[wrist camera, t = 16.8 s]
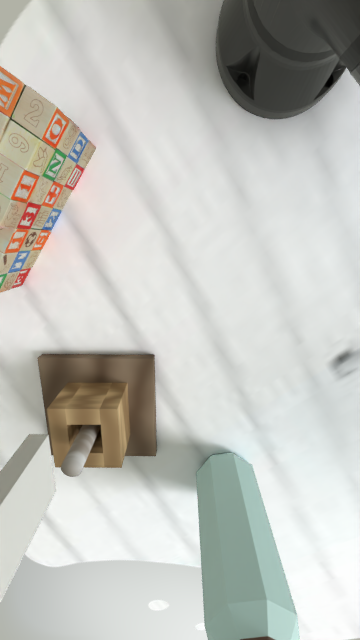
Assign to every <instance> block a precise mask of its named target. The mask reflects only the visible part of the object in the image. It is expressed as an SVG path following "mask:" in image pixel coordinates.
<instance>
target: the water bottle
mask: <svg viewBox="0 0 360 640" xmlns="http://www.w3.org/2000/svg"><path fill="white" fill-rule="evenodd" d="M196 477H197V495H198V513H199V531H200V549H201V567H202V582H203V583H202V585H203V601H204V621H205V629H206V633H207V637H208V640H300V636H299V627H298V619H297V613H296V610H295V606H294V603H293V600H292V596H291V593H290V590H289V586H288V583H287V580H286V576H285V573H284V570H283V567H282V563H281V560H280V557H279V553H278V550H277V547H276V543H275V540H274V537H273V533H272V530H271V527H270V523H269V520H268V517H267V513H266V510H265V507H264V503H263V500H262V497H261V493H260V490H259V487H258V483H257V480H256V477H255V473H254V470H253V467H252V465H251V464H250V463H248V462H247V461H245V460H243V459H242V458H240V457H238V456H237V455H235V454H233V453H231V452H229V453H223V454H216V455H211V456H210V457H209V459H208V460H207V461H206V462H205V463H204V464H203V466H202V467H201V468H200V469H199V470H198V471H197V472H196Z"/></svg>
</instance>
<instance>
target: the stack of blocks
mask: <svg viewBox="0 0 360 640" xmlns="http://www.w3.org/2000/svg"><path fill="white" fill-rule="evenodd" d="M95 149H96V147H95V146H94V145H93V144H92V143H91V142H90V141H89V140H88V139H87V138H86V137H85V135H84V134H83V133H82V132H81V131H80V129H79V128H78V127H77V126H76V125H75V124H74V122H73V121H72V120H71V119H69V118H68V117H66V116H65V115H64V114H63V113H62V112H61V111H60V110H59V109H58V108H57V107H56V106H55V105H53V104H52V103H51V102H49V101H48V100H47V99H45V98H44V97H42V96H41V95H40V94H38V93H37V92H36V91H34V90H33V89H32V88H30V87H29V86H26V85H25V84H24V83H23V82H21V81H20V80H19V79H17V78H16V77H15V76H13V75H12V74H11V73H9V72H8V71H6V70H5V69H4V68H2V67H1V66H0V292H3V291H7V290H10V289H12V288H15V287H19V286H22V285H23V283H24V281H25V279H26V277H27V275H28V273H29V271H30V269H31V267H33V265H34V263H35V261H36V259H37V257H38V255H39V254H40V252H41V249H42V248H43V246H44V244H45V242H46V241H47V239H48V237H49V235H50V233H51V230H52V228H53V226H54V224H55V222H56V221H57V219H58V217H59V215H60V213H61V210H62V209H63V207H64V205H65V203H66V202H67V200H68V198H69V196H70V194H71V192H72V190H74V188H75V186H76V184H77V182H78V180H79V179H80V177H81V175H82V173H83V171H84V169H85V168H86V166H87V164H88V162H89V160H90V159H91V157H92V155H93V153H94V151H95Z"/></svg>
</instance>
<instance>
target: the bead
mask: <svg viewBox="0 0 360 640" xmlns="http://www.w3.org/2000/svg"><path fill="white" fill-rule="evenodd" d="M47 413H48V420H49V427H50V434H51V441H52V448H53V455H54V462H55V467H61V465H62V463H63V461H64V459H65V457H66V455H67V453H68V451H69V450H70V448H71V446H72V444H73V442H74V440H75V438H76V436H77V434H78V433H79V431H80V429H81V427H82V425H101V427H100V430H99V432H98V434H97V437H96V439H95V441H94V443H93V446H92V448H91V450H90V453H89V455H88V457H87V460H86V462H85V464H84V467H107V468H121V467H122V463H123V460H124V456H125V452H126V448H127V445H128V441H129V437H130V421H129V403H128V386H127V383H67V384H66V385H65V387H64V388H63V389H62V390H61V392H60V393H59V394H58V395H57V397H56V398H55V399H54V401H53V402H52V403H51V404H50V406H49V407H48V408H47Z"/></svg>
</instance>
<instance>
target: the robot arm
mask: <svg viewBox="0 0 360 640" xmlns="http://www.w3.org/2000/svg"><path fill="white" fill-rule="evenodd" d="M216 57H217V63H218V68H219V72H220V75H221V78H222V80H223V83H224V85H225V87H226V88H227V90H228V92H229V93H230V95H231V96H232V97H233V99H234V100H235V101H236V102H237V103H238V104H239V105H240V106H242V107H243V108H244V109H245V110H247V111H249V112H250V113H252V114H255V115H257V116H260V117H263V118H269V119H283V118H289V117H292V116H295V115H298V114H300V113H302V112H304V111H306V110H308V109H309V108H311V107H312V106H314V105H315V104H316V103H317V102H319V101H320V100H321V99H322V98H323V97H324V96H325V95H326V94H327V93H328V92H329V91H330V90H331V89H332V87H333V86H334V85H335V84H336V83H337V81H338V80H339V79H340V77H341V76H342V74H343V72H344V71H345V69H346V67H347V69H348V70H349V71H350V74H351V75H352V76H353V78H354V79H355V80H356V82H357V83H358V84H359V85H360V0H224V2H223V5H222V8H221V12H220V17H219V23H218V29H217V36H216ZM55 492H56V485H55V478H54V471H53V464H52V457H51V449H50V442H49V435H37V434H29V435H28V437H27V438H26V439H25V440H24V442H23V443H22V444H21V446H20V447H19V448H18V450H17V451H16V452H15V453H14V455H13V456H12V457H11V459H10V460H9V461H8V462H7V464H6V465H5V466H4V468H3V469H2V470H1V471H0V602H1V601H2V598H3V596H4V594H5V592H6V590H7V588H8V586H9V584H10V582H11V580H12V578H13V576H14V574H15V572H16V570H17V568H18V566H19V564H20V562H21V560H22V558H23V556H24V554H25V552H26V550H27V548H28V546H29V544H30V542H31V540H32V538H33V536H34V534H35V532H36V530H37V528H38V526H39V524H40V522H41V520H42V518H43V516H44V514H45V512H46V510H47V508H48V506H49V504H50V502H51V500H52V498H53V496H54V494H55Z"/></svg>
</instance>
